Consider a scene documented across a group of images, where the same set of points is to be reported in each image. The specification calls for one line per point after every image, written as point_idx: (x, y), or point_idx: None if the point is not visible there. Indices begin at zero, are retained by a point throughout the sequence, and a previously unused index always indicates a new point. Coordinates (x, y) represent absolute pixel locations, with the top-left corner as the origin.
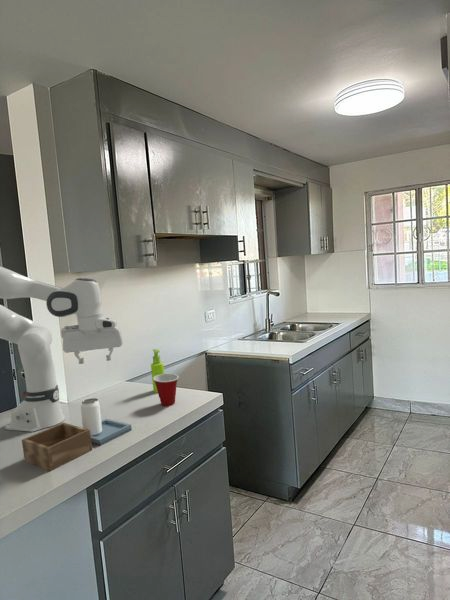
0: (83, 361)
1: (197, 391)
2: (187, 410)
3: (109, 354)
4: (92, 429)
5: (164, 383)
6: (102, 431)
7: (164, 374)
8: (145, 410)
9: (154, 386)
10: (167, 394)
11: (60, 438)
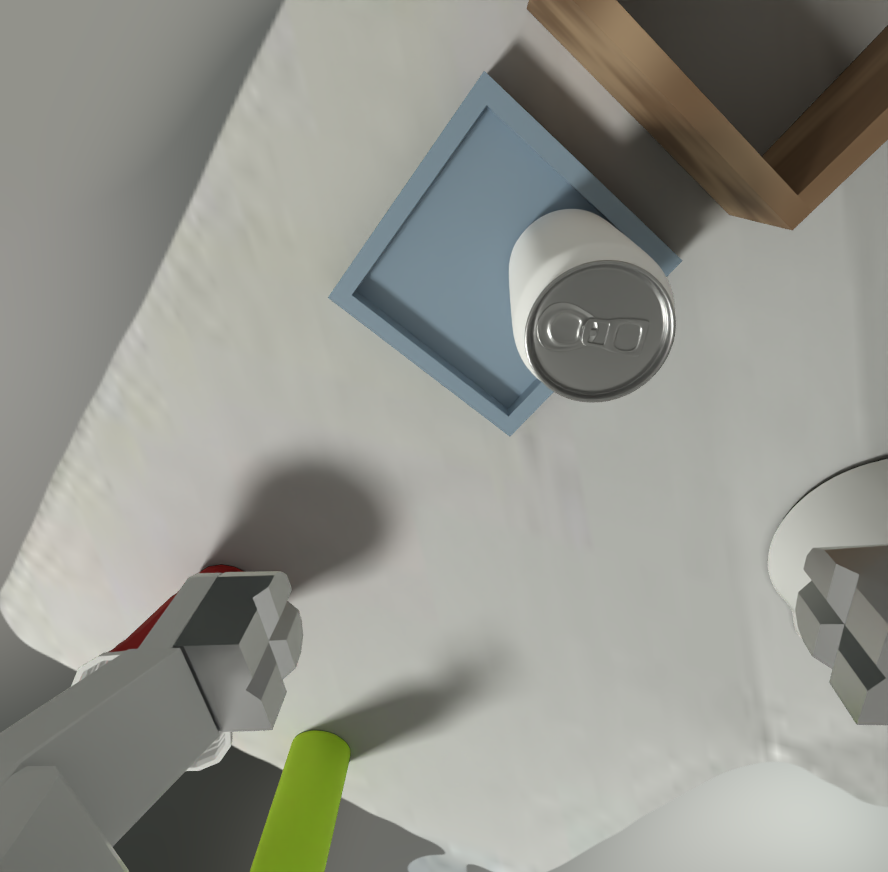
0: (822, 614)
1: None
2: (91, 478)
3: (129, 673)
4: (558, 216)
5: None
6: (507, 284)
7: None
8: (329, 542)
9: (332, 765)
10: None
11: (775, 164)
